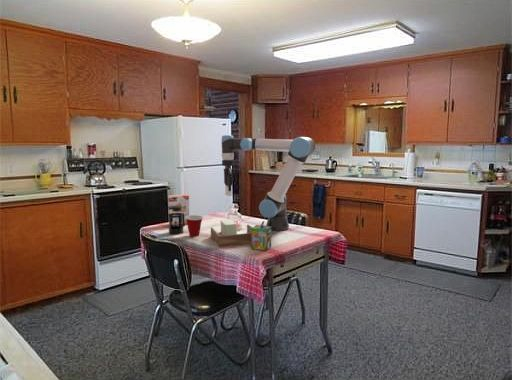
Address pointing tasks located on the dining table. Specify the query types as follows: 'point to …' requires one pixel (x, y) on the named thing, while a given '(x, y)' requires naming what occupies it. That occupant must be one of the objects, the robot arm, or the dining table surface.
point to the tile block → (228, 227)
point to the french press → (175, 229)
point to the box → (232, 238)
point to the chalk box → (261, 237)
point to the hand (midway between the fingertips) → (228, 195)
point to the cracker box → (180, 201)
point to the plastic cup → (194, 224)
